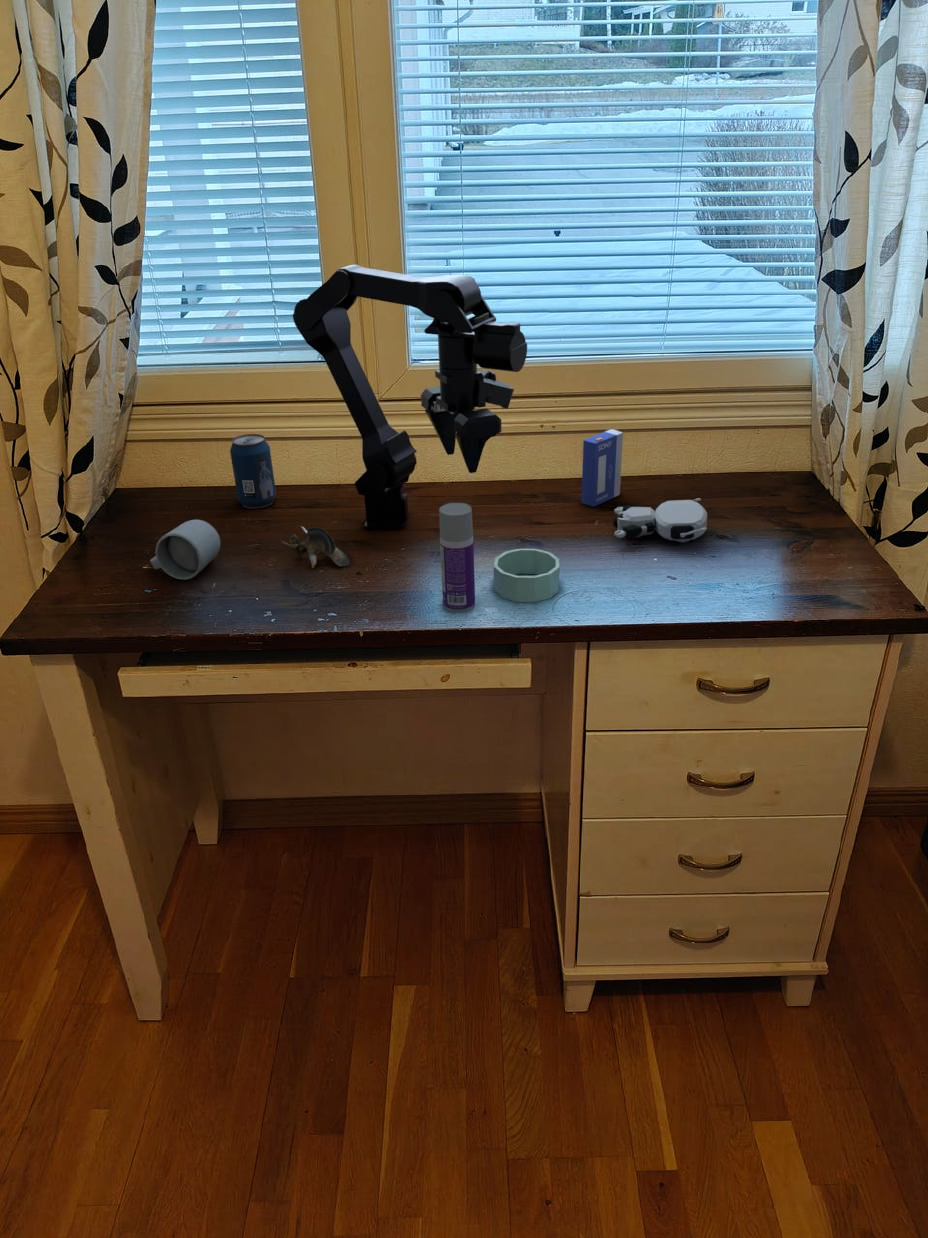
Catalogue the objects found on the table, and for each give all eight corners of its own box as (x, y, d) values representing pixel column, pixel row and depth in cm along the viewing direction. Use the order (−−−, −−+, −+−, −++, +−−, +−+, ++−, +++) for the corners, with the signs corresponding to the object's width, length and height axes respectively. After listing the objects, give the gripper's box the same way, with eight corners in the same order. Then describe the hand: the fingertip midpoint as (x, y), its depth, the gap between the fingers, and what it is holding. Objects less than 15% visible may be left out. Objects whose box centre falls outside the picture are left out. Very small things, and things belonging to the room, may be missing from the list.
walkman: (593, 507, 167) (596, 441, 161) (581, 503, 169) (583, 437, 163) (621, 494, 172) (624, 430, 166) (608, 490, 173) (611, 426, 167)
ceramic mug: (227, 558, 153) (219, 514, 149) (204, 582, 146) (195, 536, 142) (167, 555, 155) (157, 511, 152) (142, 578, 148) (131, 533, 145)
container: (482, 604, 138) (479, 508, 130) (459, 616, 135) (455, 518, 127) (459, 594, 141) (455, 499, 133) (436, 605, 138) (431, 509, 130)
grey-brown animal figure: (281, 567, 147) (334, 562, 144) (280, 522, 148) (333, 516, 145) (304, 573, 154) (355, 568, 152) (303, 529, 155) (353, 524, 152)
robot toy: (613, 553, 152) (709, 550, 150) (612, 528, 150) (710, 524, 148) (613, 522, 163) (703, 519, 160) (612, 498, 161) (704, 494, 158)
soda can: (245, 494, 177) (236, 432, 171) (281, 495, 176) (273, 433, 170) (232, 509, 171) (222, 445, 165) (270, 510, 170) (261, 446, 164)
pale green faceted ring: (492, 601, 138) (491, 577, 136) (496, 571, 146) (496, 548, 144) (558, 602, 137) (559, 578, 135) (559, 572, 146) (559, 548, 144)
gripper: (533, 372, 138) (533, 473, 146) (482, 344, 154) (484, 438, 161) (462, 382, 135) (466, 486, 143) (417, 353, 150) (422, 448, 158)
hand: (461, 463), depth 151 cm, fingers open, 9 cm apart
